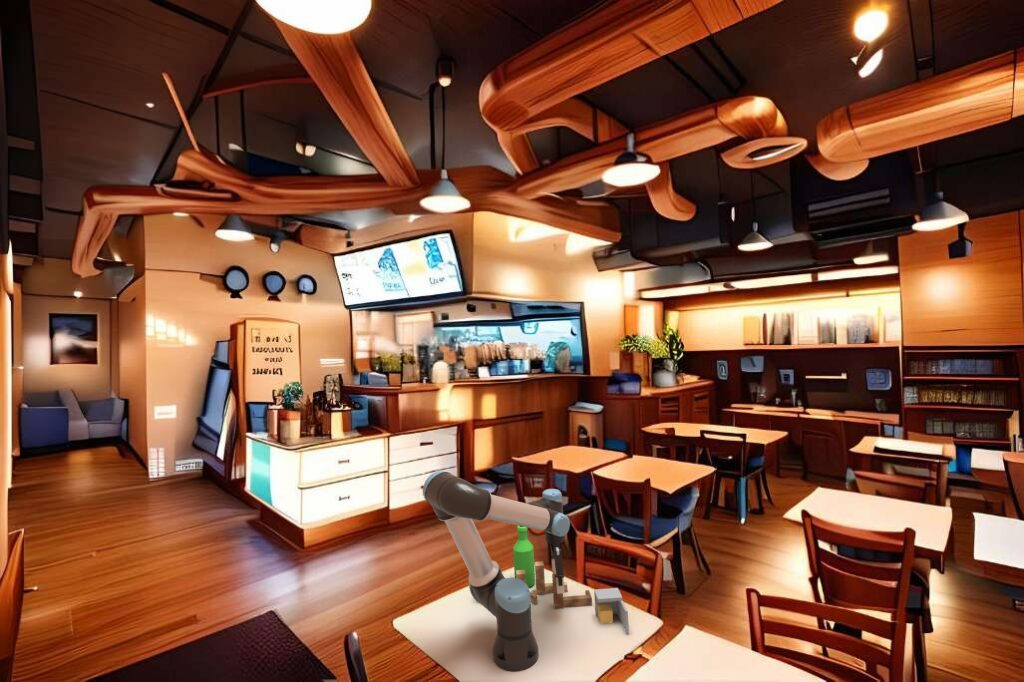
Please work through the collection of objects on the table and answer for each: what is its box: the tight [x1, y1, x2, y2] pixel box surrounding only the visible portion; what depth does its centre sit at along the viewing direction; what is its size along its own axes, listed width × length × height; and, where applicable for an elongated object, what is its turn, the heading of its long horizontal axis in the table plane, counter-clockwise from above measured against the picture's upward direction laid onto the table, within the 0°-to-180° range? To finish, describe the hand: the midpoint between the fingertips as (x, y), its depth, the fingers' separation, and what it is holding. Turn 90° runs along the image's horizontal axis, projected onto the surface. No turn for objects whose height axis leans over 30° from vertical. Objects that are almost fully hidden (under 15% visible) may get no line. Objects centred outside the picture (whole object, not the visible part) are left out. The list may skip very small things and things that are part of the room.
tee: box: [516, 570, 539, 606], centre depth 191 cm, size 8×5×12 cm, turn 92°
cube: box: [598, 604, 614, 624], centre depth 176 cm, size 4×4×4 cm
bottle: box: [512, 525, 536, 588], centre depth 205 cm, size 9×9×25 cm
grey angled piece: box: [593, 587, 630, 635], centre depth 173 cm, size 9×13×9 cm
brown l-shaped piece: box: [551, 573, 593, 610], centre depth 188 cm, size 15×6×12 cm, turn 92°
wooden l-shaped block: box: [534, 561, 568, 596], centre depth 197 cm, size 13×4×12 cm, turn 92°
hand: (558, 583), depth 187 cm, fingers open, 13 cm apart
